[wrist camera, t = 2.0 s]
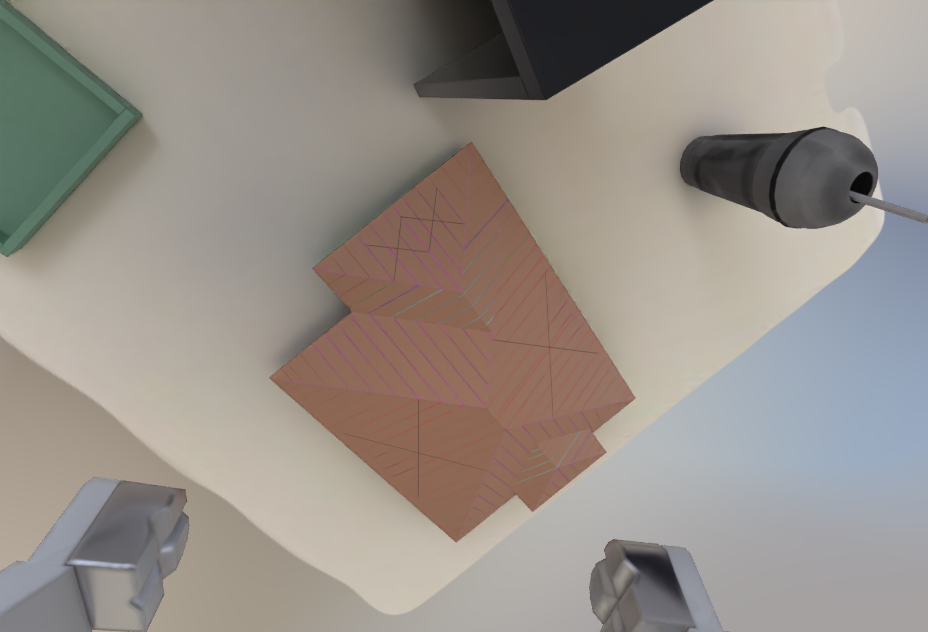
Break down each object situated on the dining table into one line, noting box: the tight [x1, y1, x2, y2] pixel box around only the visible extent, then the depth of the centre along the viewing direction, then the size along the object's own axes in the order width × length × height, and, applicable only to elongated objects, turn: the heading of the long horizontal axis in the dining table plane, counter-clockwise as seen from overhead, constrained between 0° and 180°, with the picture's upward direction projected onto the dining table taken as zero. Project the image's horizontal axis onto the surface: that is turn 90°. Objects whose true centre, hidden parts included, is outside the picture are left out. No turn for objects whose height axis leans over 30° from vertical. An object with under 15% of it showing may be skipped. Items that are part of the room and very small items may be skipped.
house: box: [270, 142, 635, 542], centre depth 46 cm, size 23×33×8 cm
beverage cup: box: [680, 127, 928, 229], centre depth 40 cm, size 7×7×20 cm
